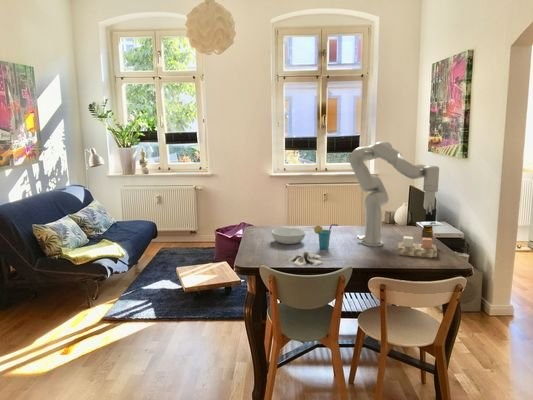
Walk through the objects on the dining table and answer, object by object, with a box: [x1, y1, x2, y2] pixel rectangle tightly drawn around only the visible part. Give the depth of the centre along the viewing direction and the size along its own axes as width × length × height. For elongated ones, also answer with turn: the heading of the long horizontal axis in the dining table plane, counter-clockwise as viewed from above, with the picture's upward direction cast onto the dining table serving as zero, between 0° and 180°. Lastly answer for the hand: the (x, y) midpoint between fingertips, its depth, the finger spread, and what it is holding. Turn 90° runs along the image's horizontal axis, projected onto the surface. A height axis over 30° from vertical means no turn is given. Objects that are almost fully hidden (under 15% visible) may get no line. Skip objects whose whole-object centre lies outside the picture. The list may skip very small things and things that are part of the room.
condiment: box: [418, 224, 434, 245], centre depth 254 cm, size 7×8×12 cm
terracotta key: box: [421, 237, 433, 249], centre depth 237 cm, size 5×5×6 cm
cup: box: [313, 223, 339, 251], centre depth 246 cm, size 14×8×15 cm, turn 97°
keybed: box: [397, 241, 438, 259], centre depth 239 cm, size 20×12×4 cm, turn 74°
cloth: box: [288, 250, 323, 267], centre depth 226 cm, size 22×19×6 cm
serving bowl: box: [271, 227, 306, 245], centre depth 261 cm, size 21×21×7 cm
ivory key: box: [402, 235, 414, 247], centre depth 240 cm, size 5×5×6 cm
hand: (428, 220), depth 234 cm, fingers closed
